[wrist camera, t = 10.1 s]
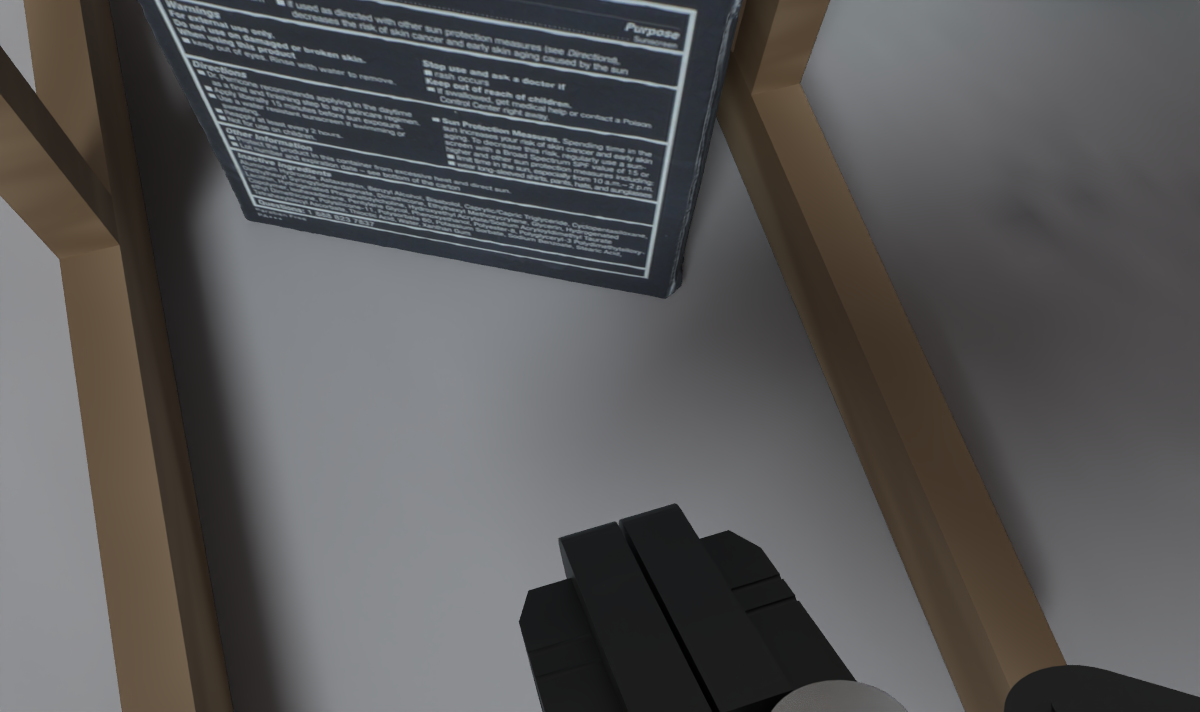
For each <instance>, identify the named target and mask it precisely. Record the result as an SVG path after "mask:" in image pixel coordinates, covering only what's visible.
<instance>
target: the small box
mask: <svg viewBox="0 0 1200 712" xmlns="http://www.w3.org/2000/svg"><path fill="white" fill-rule="evenodd" d="M137 1H138V2H139V3H140V4H141V6H142V8H143V11H144V16H145V18H146V20H147V21H148V23H149V25H150V26H151V28H152V31H153V33H154V36H155V38H156V41H157V42H158V44H159V46H160V48H161V49H162V51H163V53H164V55H165V56H166V58H167V60H168V62H169V64H170V66H171V68H172V70H173V72H174V74H175V76H176V78H177V80H178V82H179V84H180V86H181V88H182V90H183V92H184V94H185V95H186V97H187V99H188V100H189V103H190V106H191V107H192V109H193V111H194V114H195V115H196V117H197V119H198V122H199V123H200V125H201V127H202V128H203V129H204V131H205V133H206V135H207V139H208V141H209V143H210V145H211V147H212V149H213V151H214V153H215V155H216V157H217V158H218V160H219V161H220V163H221V166H222V168H223V169H224V171H225V175H226V177H227V178H228V180H229V182H230V185H231V187H232V189H233V191H234V192H235V195H236V197H237V199H238V201H239V204H240V206H241V209H242V211H243V214H244V216H245V218H246V219H248V220H250V221H254V222H260V223H265V224H271V225H276V226H281V227H285V228H291V229H296V230H299V231H306V232H310V233H316V234H322V235H327V236H334V237H338V238H343V239H349V240H354V241H359V242H364V243H369V244H375V245H379V246H383V247H391V248H397V249H402V250H407V251H412V252H417V253H422V254H427V255H434V256H439V257H444V258H450V259H456V260H461V261H465V262H470V263H476V264H481V265H487V266H492V267H498V268H503V269H508V270H513V271H519V272H525V273H529V274H534V275H540V276H546V277H551V278H556V279H562V280H567V281H571V282H577V283H583V284H588V285H593V286H600V287H605V288H610V289H617V290H622V291H627V292H634V293H639V294H645V295H650V296H655V297H659V298H667V297H668V296H670V295H671V294H673V293H674V292H675V291H676V289H678V288H679V287H680V286H681V284H682V263H683V261H684V257H683V254H684V249H685V245H686V240H687V237H688V232H689V228H690V224H691V220H692V216H693V212H694V208H695V204H696V200H697V195H698V192H699V188H700V184H701V179H702V175H703V171H704V165H705V161H706V157H707V153H708V149H709V144H710V139H711V135H712V131H713V127H714V122H715V118H716V113H717V110H718V105H719V101H720V96H721V91H722V88H723V83H724V79H725V74H726V70H727V66H728V61H729V56H730V50H731V47H732V43H733V39H734V35H735V31H736V26H737V22H738V17H739V11H740V8H741V5H742V2H743V0H137Z"/></svg>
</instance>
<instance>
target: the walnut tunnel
mask: <svg viewBox="0 0 1200 712" xmlns="http://www.w3.org/2000/svg"><path fill="white" fill-rule="evenodd" d="M829 2H830V0H743V2H742V5H741V8H740V11H739V17H738V22H737V26H736V31H735V35H734V39H733V43H732V47H731V50H730V56H729V61H728V66H727V70H726V74H725V79H724V83H723V88H722V91H721V96H720V101H719V105H718V110H717V113H716V117H717V119H718V122H719V124H720V127H721V129H722V131H723V134H724V136H725V139H726V141H727V143H728V146H729V148H730V150H731V153H732V155H733V158H734V160H735V162H736V165H737V167H738V170H739V172H740V174H741V177H742V179H743V182H744V184H745V186H746V189H747V191H748V193H749V196H750V198H751V201H752V203H753V205H754V208H755V210H756V213H757V215H758V217H759V220H760V222H761V225H762V227H763V229H764V232H765V234H766V236H767V239H768V241H769V244H770V246H771V248H772V251H773V253H774V256H775V258H776V260H777V263H778V265H779V268H780V270H781V272H782V275H783V277H784V280H785V282H786V284H787V287H788V289H789V291H790V294H791V296H792V299H793V301H794V303H795V306H796V308H797V311H798V313H799V315H800V318H801V320H802V323H803V325H804V327H805V330H806V332H807V334H808V337H809V339H810V342H811V344H812V346H813V349H814V351H815V354H816V356H817V358H818V361H819V363H820V366H821V368H822V370H823V373H824V375H825V378H826V380H827V382H828V385H829V387H830V389H831V392H832V394H833V397H834V399H835V401H836V404H837V406H838V409H839V411H840V413H841V416H842V418H843V421H844V423H845V425H846V428H847V430H848V432H849V435H850V437H851V440H852V442H853V444H854V447H855V449H856V452H857V454H858V456H859V459H860V461H861V464H862V466H863V468H864V471H865V473H866V476H867V478H868V480H869V483H870V485H871V487H872V490H873V492H874V495H875V497H876V499H877V502H878V504H879V507H880V509H881V511H882V514H883V516H884V519H885V521H886V523H887V526H888V528H889V530H890V533H891V535H892V538H893V540H894V542H895V545H896V547H897V550H898V552H899V554H900V557H901V559H902V562H903V564H904V566H905V569H906V571H907V574H908V576H909V578H910V581H911V583H912V585H913V588H914V590H915V593H916V595H917V597H918V600H919V602H920V605H921V607H922V609H923V612H924V614H925V617H926V619H927V621H928V624H929V626H930V628H931V631H932V633H933V636H934V638H935V640H936V643H937V645H938V648H939V650H940V652H941V655H942V657H943V660H944V662H945V664H946V667H947V669H948V672H949V674H950V676H951V679H952V681H953V683H954V686H955V688H956V691H957V693H958V695H959V698H960V700H961V703H962V705H963V707H964V710H965V712H1004V705H1005V700H1006V698H1007V695H1008V693H1009V691H1010V690H1011V688H1012V687H1013V686H1014V685H1015V684H1016V683H1017V682H1018V681H1019V680H1020V679H1022V678H1023V677H1025V676H1027V675H1028V674H1030V673H1032V672H1035V671H1038V670H1040V669H1044V668H1048V667H1053V666H1062V665H1067V664H1066V662H1065V660H1064V657H1063V655H1062V653H1061V651H1060V649H1059V647H1058V644H1057V642H1056V640H1055V638H1054V636H1053V633H1052V631H1051V629H1050V627H1049V625H1048V623H1047V620H1046V618H1045V616H1044V614H1043V612H1042V610H1041V607H1040V605H1039V603H1038V601H1037V599H1036V596H1035V594H1034V592H1033V590H1032V588H1031V586H1030V583H1029V581H1028V579H1027V577H1026V575H1025V572H1024V570H1023V568H1022V566H1021V564H1020V562H1019V559H1018V557H1017V555H1016V553H1015V551H1014V549H1013V546H1012V544H1011V542H1010V540H1009V538H1008V535H1007V533H1006V531H1005V529H1004V527H1003V525H1002V522H1001V520H1000V518H999V516H998V514H997V512H996V509H995V507H994V505H993V503H992V501H991V498H990V496H989V494H988V492H987V490H986V488H985V485H984V483H983V481H982V479H981V477H980V475H979V472H978V470H977V468H976V466H975V464H974V461H973V459H972V457H971V455H970V453H969V451H968V448H967V446H966V444H965V442H964V440H963V437H962V435H961V433H960V431H959V429H958V427H957V424H956V422H955V420H954V418H953V416H952V414H951V411H950V409H949V407H948V405H947V403H946V400H945V398H944V396H943V394H942V392H941V390H940V387H939V385H938V383H937V381H936V379H935V377H934V374H933V372H932V370H931V368H930V366H929V363H928V361H927V359H926V357H925V355H924V353H923V350H922V348H921V346H920V344H919V342H918V340H917V337H916V335H915V333H914V331H913V329H912V326H911V324H910V322H909V320H908V318H907V316H906V313H905V311H904V309H903V307H902V305H901V302H900V300H899V298H898V296H897V294H896V292H895V289H894V287H893V285H892V283H891V281H890V279H889V276H888V274H887V272H886V270H885V268H884V265H883V263H882V261H881V259H880V257H879V255H878V252H877V250H876V248H875V246H874V244H873V242H872V239H871V237H870V235H869V233H868V231H867V228H866V226H865V224H864V222H863V220H862V218H861V215H860V213H859V211H858V209H857V207H856V205H855V202H854V200H853V198H852V196H851V194H850V191H849V189H848V187H847V185H846V183H845V181H844V178H843V176H842V174H841V172H840V170H839V167H838V165H837V163H836V161H835V159H834V157H833V154H832V152H831V150H830V148H829V146H828V144H827V141H826V139H825V137H824V135H823V133H822V130H821V128H820V126H819V124H818V122H817V120H816V117H815V115H814V113H813V111H812V109H811V107H810V104H809V102H808V100H807V98H806V96H805V93H804V91H803V89H802V87H801V85H800V82H801V79H802V76H803V74H804V71H805V68H806V65H807V63H808V60H809V57H810V54H811V52H812V49H813V46H814V43H815V41H816V38H817V35H818V32H819V30H820V27H821V24H822V21H823V18H824V16H825V13H826V10H827V7H828V5H829ZM24 7H25V14H26V22H27V29H28V36H29V43H30V50H31V58H32V65H33V72H34V79H35V87H36V93H35V92H34V91H33V89H32V88H31V86H30V85H29V84H28V82H27V81H26V80H25V78H24V77H23V76H22V74H21V73H20V72H19V70H18V69H17V68H16V66H15V65H14V63H13V62H12V61H11V59H10V58H9V57H8V55H7V54H6V53H5V51H4V50H3V49H2V47H1V46H0V196H1V197H2V198H3V199H4V200H5V201H6V202H7V203H8V204H9V205H10V206H11V208H12V209H13V210H14V211H15V212H16V213H17V214H18V215H19V216H20V217H21V218H22V219H23V220H24V222H25V223H26V224H27V225H28V226H29V227H30V228H31V229H32V230H33V231H34V232H35V233H36V234H37V236H38V237H39V238H40V239H41V240H42V241H43V242H44V243H45V244H46V245H47V246H48V247H49V249H50V250H51V251H52V252H53V253H54V254H55V255H56V256H57V257H58V258H59V260H60V267H61V274H62V282H63V289H64V296H65V303H66V311H67V318H68V325H69V332H70V340H71V347H72V354H73V361H74V368H75V376H76V383H77V390H78V397H79V405H80V412H81V419H82V426H83V433H84V441H85V448H86V455H87V462H88V470H89V477H90V484H91V491H92V499H93V506H94V513H95V520H96V527H97V535H98V542H99V549H100V556H101V564H102V571H103V578H104V585H105V593H106V600H107V607H108V614H109V621H110V629H111V636H112V643H113V650H114V658H115V665H116V672H117V679H118V686H119V694H120V701H121V708H122V712H234V711H233V706H232V700H231V694H230V689H229V683H228V677H227V671H226V666H225V660H224V654H223V649H222V643H221V637H220V632H219V626H218V620H217V614H216V609H215V603H214V597H213V592H212V586H211V580H210V575H209V569H208V563H207V557H206V552H205V546H204V540H203V535H202V529H201V523H200V518H199V512H198V506H197V500H196V495H195V489H194V483H193V478H192V472H191V466H190V461H189V455H188V449H187V443H186V438H185V432H184V426H183V421H182V415H181V409H180V403H179V398H178V392H177V386H176V381H175V375H174V369H173V364H172V358H171V352H170V346H169V341H168V335H167V329H166V324H165V318H164V312H163V307H162V301H161V295H160V289H159V284H158V278H157V272H156V267H155V261H154V255H153V250H152V244H151V238H150V232H149V227H148V221H147V215H146V210H145V204H144V198H143V193H142V187H141V181H140V175H139V170H138V164H137V158H136V153H135V147H134V141H133V136H132V130H131V124H130V118H129V113H128V107H127V101H126V96H125V90H124V84H123V79H122V73H121V67H120V61H119V56H118V50H117V44H116V39H115V33H114V27H113V22H112V16H111V10H110V4H109V0H24ZM36 94H37V95H36Z"/></svg>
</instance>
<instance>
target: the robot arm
mask: <svg viewBox="0 0 1200 712" xmlns="http://www.w3.org/2000/svg"><path fill="white" fill-rule="evenodd" d="M559 547H560V552H561V556H562V560H563V565H564V569H565V573H566V577H567V579H566V580H562V581H559V582H556V583H552V584H549V585H546V586H542V587H539V588H536V589H532V590H529V591H528V594H527V597H526V601H525V604H524V607H523V610H522V614H521V617H520V620H519V624H520V628H521V632H522V636H523V639H524V643H525V647H526V651H527V655H528V658H529V662H530V666H531V670H532V674H533V677H534V681H535V685H536V689H537V693H538V696H539V700H540V704H541V708H542V712H908V711H907V710H906V709H905V708H904V707H903V706H902V705H901V704H900V703H899V702H898V701H897V700H896V699H895V698H893V697H892V696H890V695H889V694H888V693H886V692H884V691H882V690H880V689H878V688H876V687H873V686H870V685H867V684H864V683H860V682H857V681H856V680H855V678H854V677H853V676H852V674H851V673H850V671H849V670H848V669H847V667H846V666H845V664H844V663H843V662H842V660H841V659H840V657H839V656H838V655H837V653H836V652H835V650H834V649H833V648H832V646H831V645H830V643H829V642H828V641H827V639H826V638H825V636H824V635H823V634H822V632H821V631H820V630H819V628H818V627H817V625H816V624H815V623H814V621H813V620H812V618H811V617H810V616H809V614H808V613H807V611H806V610H805V609H804V607H803V606H802V604H801V603H800V602H799V601H797V600H796V598H795V595H794V593H793V592H792V590H791V589H790V588H789V586H788V585H787V584H786V582H785V581H784V579H782V580H781V577H780V574H779V572H778V571H777V570H776V568H775V567H774V565H773V564H772V563H771V561H770V560H769V558H768V557H767V556H766V554H765V553H764V551H763V550H762V549H761V548H760V547H758V546H757V545H755V544H753V543H751V542H749V541H748V540H746V539H744V538H742V537H740V536H738V535H737V534H735V533H733V532H731V531H729V530H728V531H724V532H721V533H718V534H714V535H711V536H708V537H704V538H701V539H699V538H698V536H697V534H696V533H695V531H694V530H693V528H692V526H691V525H690V523H689V522H688V520H687V518H686V517H685V515H684V514H683V512H682V510H681V509H680V507H679V506H678V505H677V504H671V505H668V506H665V507H661V508H658V509H654V510H651V511H648V512H644V513H641V514H638V515H634V516H631V517H627V518H624V519H621V520H619V526H618V524H617V523H616V522H611V523H608V524H604V525H601V526H598V527H594V528H591V529H587V530H584V531H581V532H577V533H574V534H570V535H567V536H564V537H560V538H559ZM1004 712H1200V697H1197V696H1194V695H1190V694H1187V693H1183V692H1180V691H1177V690H1173V689H1170V688H1166V687H1163V686H1159V685H1156V684H1152V683H1149V682H1146V681H1142V680H1139V679H1135V678H1132V677H1128V676H1125V675H1122V674H1118V673H1115V672H1111V671H1108V670H1104V669H1099V668H1095V667H1089V666H1081V665H1062V666H1053V667H1048V668H1044V669H1040V670H1038V671H1035V672H1032V673H1030V674H1028V675H1027V676H1025V677H1023V678H1022V679H1020V680H1019V681H1018V682H1017V683H1016V684H1015V685H1014V686H1013V687H1012V688H1011V690H1010V691H1009V693H1008V695H1007V698H1006V700H1005V705H1004Z"/></svg>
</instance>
